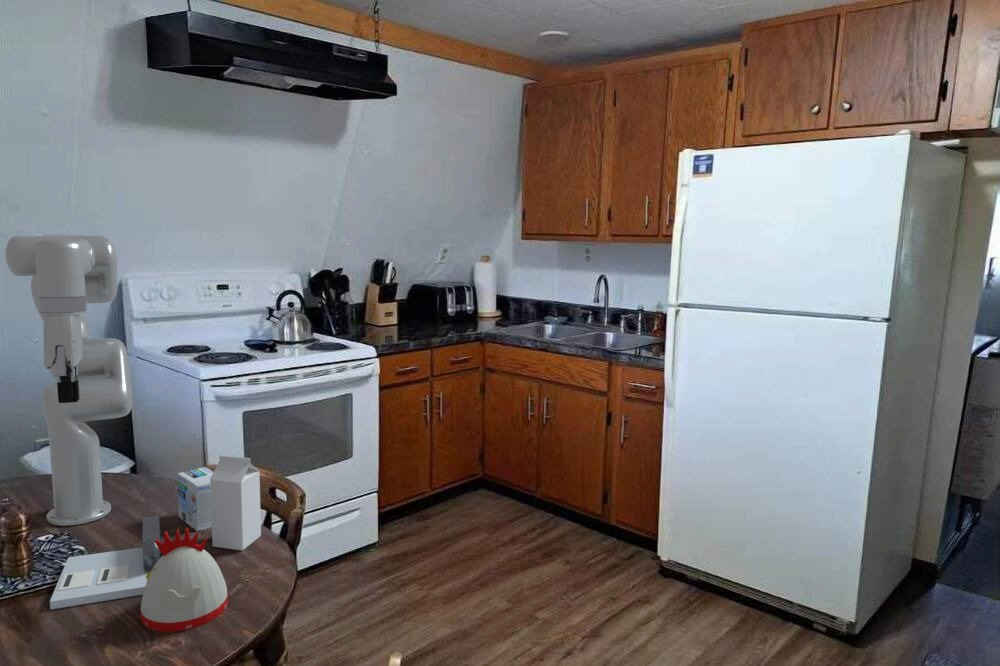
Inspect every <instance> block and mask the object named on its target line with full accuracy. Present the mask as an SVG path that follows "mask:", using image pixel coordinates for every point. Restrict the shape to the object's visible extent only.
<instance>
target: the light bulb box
mask: <svg viewBox="0 0 1000 666" xmlns="http://www.w3.org/2000/svg"><path fill="white" fill-rule="evenodd" d="M213 472H214V471H212V470H211V469H209V468H208V467H206V466H203V467H199V468H196V469H191V470H187V471H182V472H178V473H176V476H177V477H176V478H177V479H176V480H177V501H178V502H177V503H178V504H177V506H178V508H177V509H178V518H179V519H180V520H182V521H183V522H184V523H186V524H187V525H189V527H191V528H192V529H193V528H194V530H195V532H200V531H199V530H201V531H204V530H207V528H208V529H211V528H212V516H211V489H210V478H211V476H212V474H213ZM210 527H211V528H210ZM203 529H204V530H203Z"/></svg>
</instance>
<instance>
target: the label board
mask: <svg viewBox="0 0 1000 666" xmlns="http://www.w3.org/2000/svg"><path fill="white" fill-rule="evenodd" d="M148 573H149V572H146V571H144V570H143V551H142V546H141V547H135V548H134V547H133V548H128V549H127V548H126V549H121V550H113V551H107V552H98V553H91V554H85V555H76V556H70V557H68V558H67V560H66V562H65V565H64V567H63V570H62V571H61V574H60V577H59V579H58V581H57V583H56V585H55V588H54V591H53V593H52V595H51V598H50V600H49V609H50V610H56V609H63V608H68V607H74V606H82V605H86V604H87V605H88V604H93V603H99V602H105V601H112V600H118V599H125V598H130V597H131V598H132V597H137V596H143V593H144V590H145V586H146V583H147V578H146V575H147V574H148Z"/></svg>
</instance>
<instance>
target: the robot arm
mask: <svg viewBox="0 0 1000 666" xmlns="http://www.w3.org/2000/svg"><path fill="white" fill-rule="evenodd" d="M117 259H118V258H117V253H116V249H115V247H114V244H113V243H112V241H111V240H110V239H109V238H108V237H106V236H103V235H102V236H101V235H75V234H74V235H70V234H69V235H67V234H48V235H47V234H43V235H32V236H31V235H30V236H29V235H28V236H26V235H25V236H24V235H23V236H21V235H20V236H16V235H15V236H11V237H10V239H9V240H8V241H7V243H6V247H5V261H6V264H7V267H8V269H9V270H10V272H11V273H12V274H13V275H14V276H17V277H31V278H30V279H31V280H30V291H31V296H32V299H33V302H34V306H35V308H36V311H37V313H38V315H39V316H40V318H41V320H42V322H43V332H42V333H43V337H42V338H43V365H44V368H45V369H46V370H49V373H50V374H51V376H52V377H53V378H54V379H56V380H57V382H53V383H51V384H49V385H47V386H45V388H44V389H43V391H42V393H41V399H40V400H41V406H42V411H43V415H44V418H45V423H46V427H47V433H48V441H49V454H50V465H51V466H50V467H51V479H52V480H51V483H52V494H53V495H52V497H53V508H52V509H50V511H48V513H46V521H47V522H48V523H49V524H50V525H53V526H60V527H61V526H62V527H63V526H64V527H66V526H67V527H68V526H79V525H82V524H88V523H92V522H94V521H97V520H99V519H102V518H104V517H106V516H107V515H109V513H110V512H111V511H112V505H111V503H110V502H108V501H106V500H104V496H103V483H102V482H103V481H102V467H101V465H102V464H101V450H100V446H101V445H100V439H99V436H98V434H97V433H96V432H95V430H93V428H91V427H90V426H89V425H88V424H87V422H91V421H100V420H109V419H110V420H112V419H118V418H123V417H126V416H127V415H129V414H130V412H131V411H132V408H133V388H132V380H131V373H130V364H129V363H130V361H129V355H128V351H127V347H126V346H125V344H124V343H123V341H121V340H120V339H117V338H112V337H110V338H109V337H104V338H103V337H102V338H91V335H90V325H89V323H88V321H87V320H86V319H85V318H84V317H83V316H82V315H85V314H87V313H88V312H87V304H105V303H110V302H113V301H114V300H115V299H116V296H117V294H118V266H117V265H118V264H117V263H118V262H117V261H118V260H117Z"/></svg>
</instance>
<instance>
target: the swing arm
mask: <svg viewBox="0 0 1000 666" xmlns="http://www.w3.org/2000/svg"><path fill="white" fill-rule="evenodd" d="M156 539H157V540H158V541H160V542H161V527H160V515H159V514H158V515H151V516H144V517H142V543H141V547H142V551H143V570H144V571H146V572H150V571H151V570H152V569H153V567H154V566H155V564H156V562H158V560H159V559H160V558H161V557H162V556H161V554H162V552H161V551H160V550H159V548H158V547H157V545H156V542H155V540H156Z"/></svg>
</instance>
